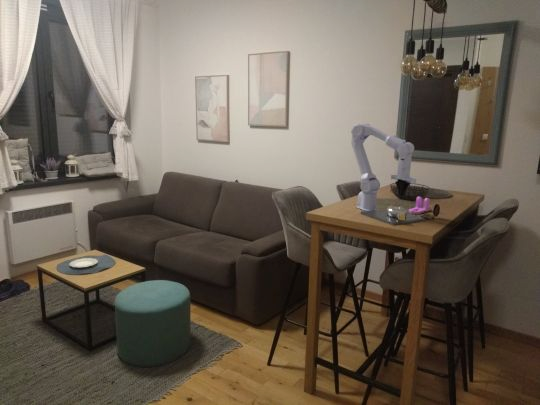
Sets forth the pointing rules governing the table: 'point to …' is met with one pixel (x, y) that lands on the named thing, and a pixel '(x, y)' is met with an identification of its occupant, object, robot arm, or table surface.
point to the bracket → (418, 206)
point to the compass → (435, 213)
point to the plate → (383, 217)
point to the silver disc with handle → (397, 212)
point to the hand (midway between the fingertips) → (401, 195)
